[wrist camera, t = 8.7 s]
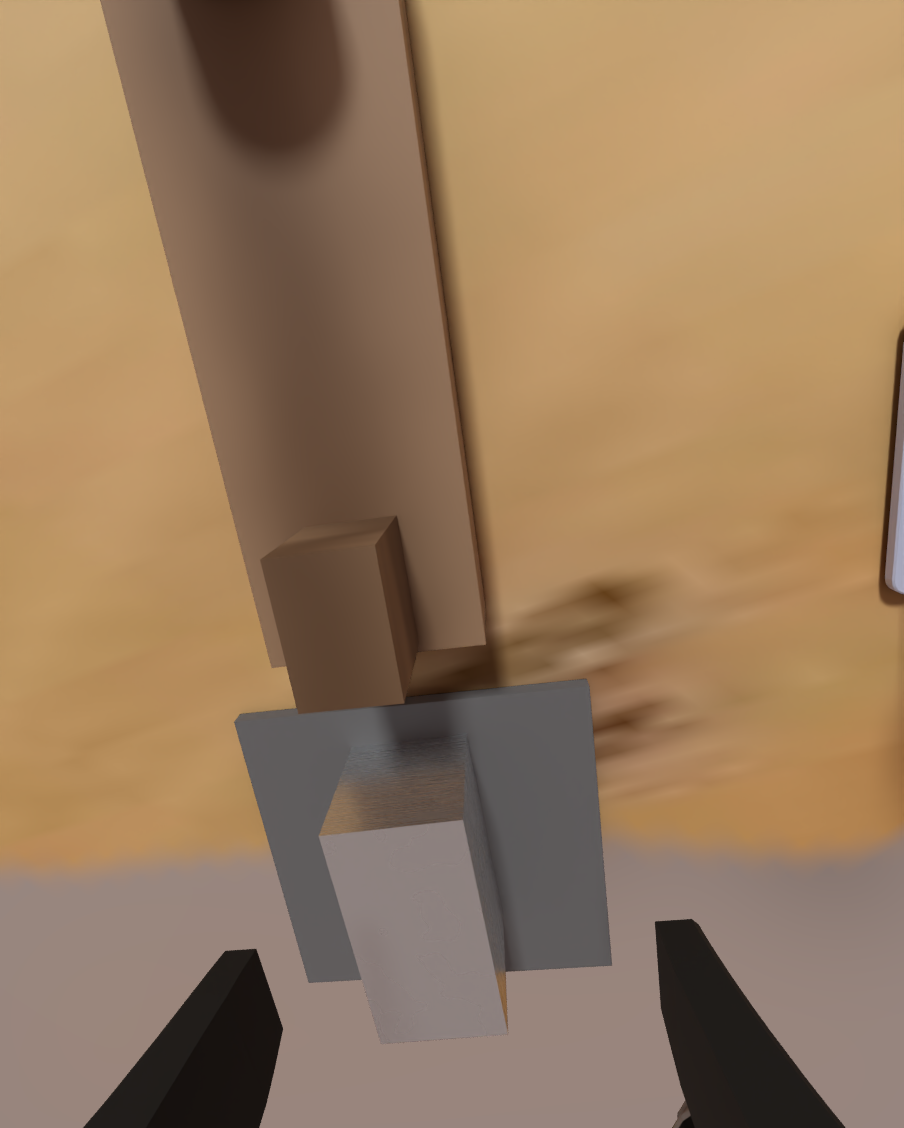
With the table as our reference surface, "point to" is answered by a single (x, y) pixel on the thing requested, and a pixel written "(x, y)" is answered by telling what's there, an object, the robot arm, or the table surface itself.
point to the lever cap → (419, 890)
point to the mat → (508, 800)
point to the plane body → (313, 323)
